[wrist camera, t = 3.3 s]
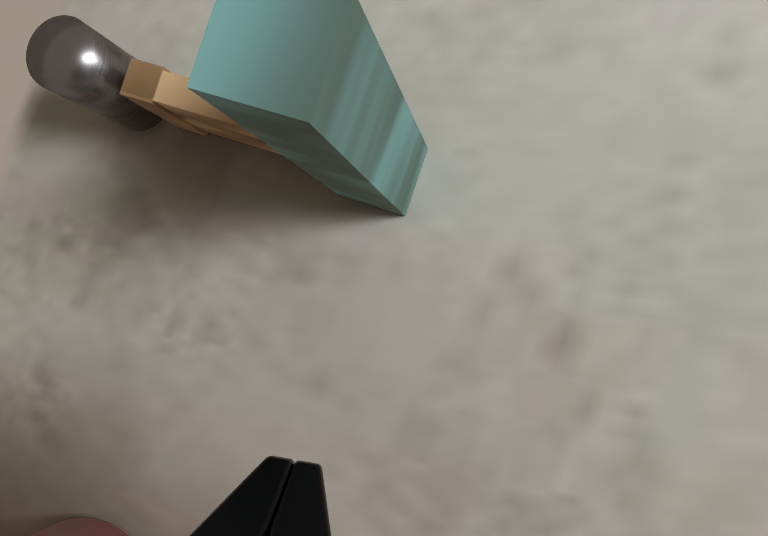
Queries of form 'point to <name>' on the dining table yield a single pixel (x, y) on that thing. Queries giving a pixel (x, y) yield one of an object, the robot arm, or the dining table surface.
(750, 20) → the dining table surface
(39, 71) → the hinge post
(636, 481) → the dining table surface
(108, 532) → the beverage can
